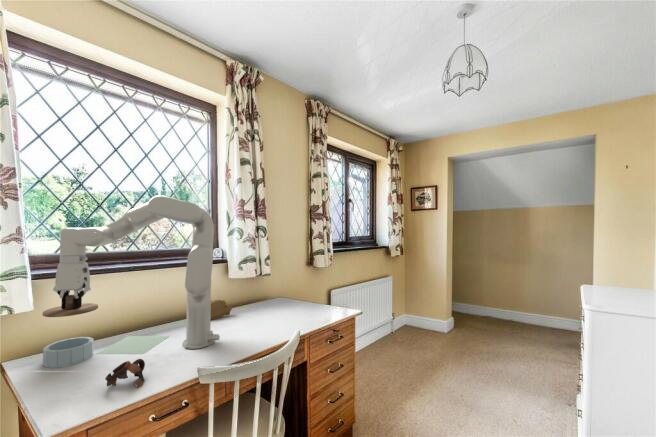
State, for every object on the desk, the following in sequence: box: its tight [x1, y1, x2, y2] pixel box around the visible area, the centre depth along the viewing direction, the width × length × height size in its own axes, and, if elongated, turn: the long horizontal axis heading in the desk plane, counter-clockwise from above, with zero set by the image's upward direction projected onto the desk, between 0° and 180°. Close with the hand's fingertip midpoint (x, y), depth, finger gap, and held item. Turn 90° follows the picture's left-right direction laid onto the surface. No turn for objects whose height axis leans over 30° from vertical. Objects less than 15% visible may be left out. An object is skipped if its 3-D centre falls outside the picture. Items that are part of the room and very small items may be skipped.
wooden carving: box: [211, 299, 233, 320], centre depth 165 cm, size 16×5×10 cm, turn 133°
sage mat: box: [95, 335, 170, 355], centre depth 127 cm, size 19×19×1 cm
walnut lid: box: [42, 294, 99, 318], centre depth 114 cm, size 16×16×6 cm
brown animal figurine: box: [104, 358, 146, 389], centre depth 96 cm, size 12×10×8 cm
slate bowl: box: [42, 336, 95, 369], centre depth 113 cm, size 14×14×6 cm
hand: (71, 307), depth 114 cm, fingers closed on walnut lid, 3 cm apart
